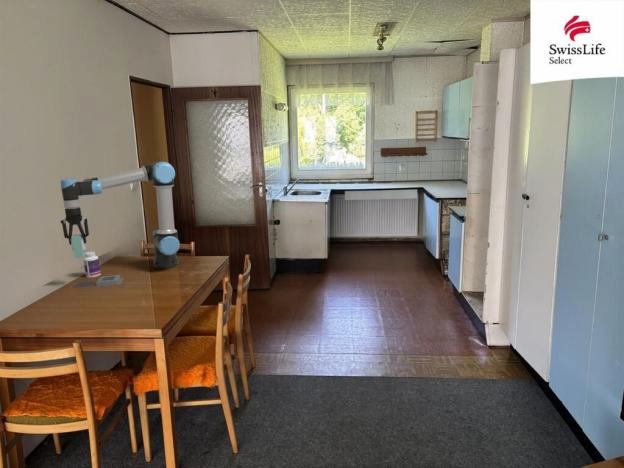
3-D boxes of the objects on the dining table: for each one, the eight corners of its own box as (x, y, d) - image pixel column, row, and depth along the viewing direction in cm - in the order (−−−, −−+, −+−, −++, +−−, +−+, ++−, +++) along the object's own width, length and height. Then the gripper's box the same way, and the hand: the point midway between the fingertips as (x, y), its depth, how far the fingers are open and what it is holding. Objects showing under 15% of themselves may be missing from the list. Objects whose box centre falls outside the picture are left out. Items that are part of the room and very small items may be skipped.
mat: (95, 282, 266) (95, 281, 266) (91, 287, 257) (91, 286, 257) (78, 283, 264) (77, 282, 264) (73, 288, 255) (73, 287, 255)
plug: (85, 255, 260) (82, 234, 257) (83, 257, 255) (80, 236, 253) (76, 256, 259) (73, 235, 256) (74, 258, 254) (71, 236, 252)
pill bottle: (103, 274, 281) (100, 250, 277) (96, 278, 273) (92, 254, 270) (90, 274, 281) (87, 251, 278) (83, 278, 274) (79, 254, 270)
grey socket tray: (123, 279, 269) (123, 274, 268) (120, 285, 258) (119, 280, 257) (97, 282, 266) (97, 276, 265) (93, 288, 255) (92, 282, 255)
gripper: (91, 205, 256) (97, 246, 261) (56, 207, 253) (63, 249, 258) (88, 207, 249) (94, 249, 254) (52, 210, 246) (59, 252, 251)
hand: (79, 249), depth 256 cm, fingers closed on plug, 4 cm apart
